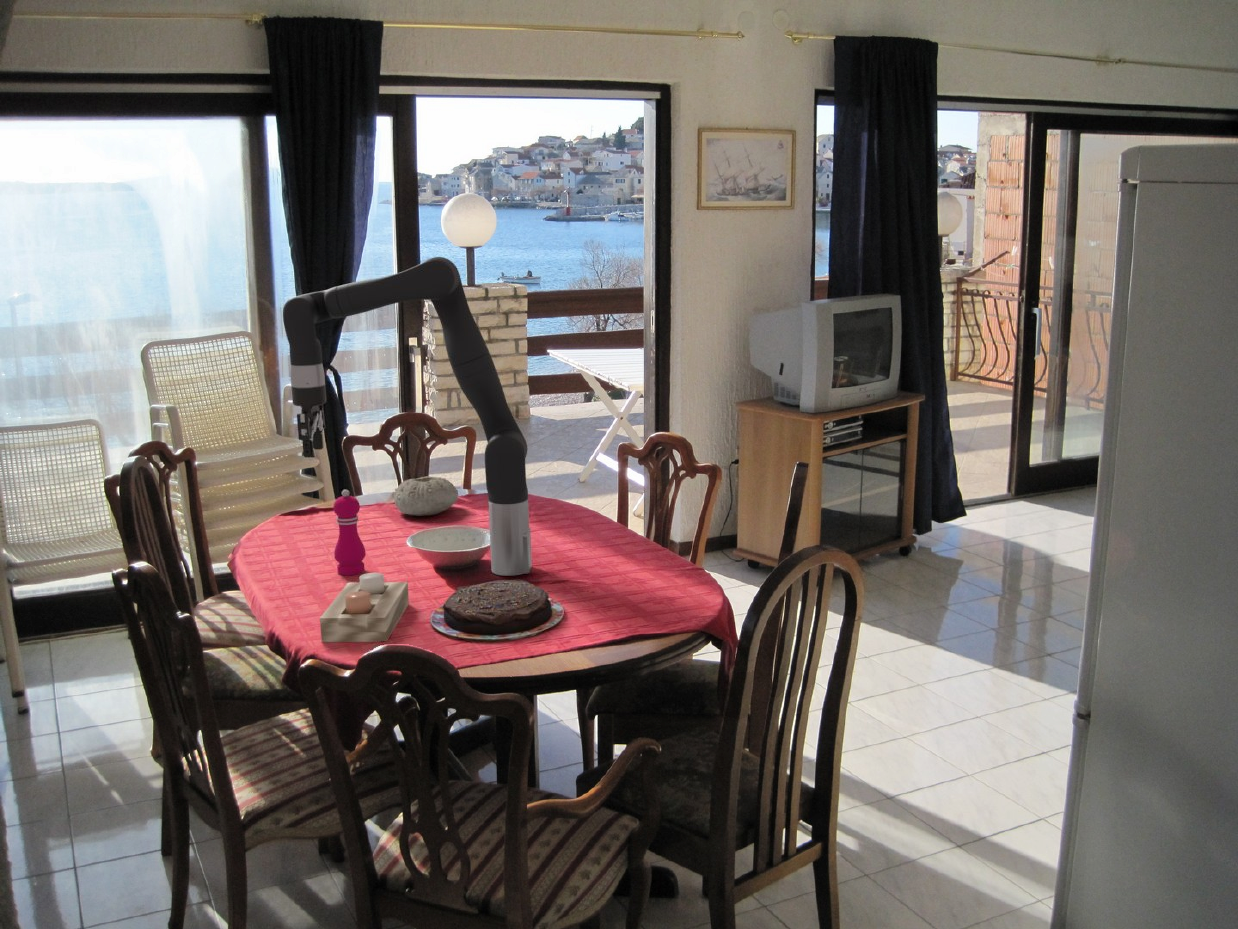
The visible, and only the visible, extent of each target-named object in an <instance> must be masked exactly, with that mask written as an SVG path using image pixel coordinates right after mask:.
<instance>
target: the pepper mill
mask: <svg viewBox="0 0 1238 929" xmlns="http://www.w3.org/2000/svg"><path fill="white" fill-rule="evenodd" d="M341 495H342V496H340V497H337V498H336V499H335V501H334V503H333V512H334V514H335V515H337V516H336V518H335V519H336V524H338V532H339V534H338V538H337V542H336V545H335V547H334V554H333V557H334V559H335V561H337V563H338V564H337V565H336V566H337V574H338V575H341V576H344V577H345V576H357V575H360V574H362V573H364V572H365V562H363V560H364V559H365V557H366V548H365V545H364V544H363V542H362V540H361V538H360V535H359V533H358V526H357V525H358V523H359V515H358V513H359V512H360V507H361V506H360V502H359V500H358V499H357V498H356V497H355V496H352V495H350V491H349V490H348V489H343V490H342V491H341Z"/></svg>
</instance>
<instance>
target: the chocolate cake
mask: <svg viewBox="0 0 1238 929" xmlns="http://www.w3.org/2000/svg"><path fill="white" fill-rule="evenodd" d="M564 614H565V610H564V608H563V606H562V604H561V603H559V601H557V600H556V599H553V598H550V597H549V592H548V591H546V590H545V589H543V588H542V587H540V586H536V585H535V584H533V583H530V582H528V581H525V579H524V580H523V579H511V580H506V579H505V580H500V579H498V580H493V581H487V582H483V583H479V584H473V585H465V586H459V587H456V589H455V590H454V592H453V593H452V594H451V595H450V596H448V598H447V599H446V600H445V601H444V603H443V604H442V605H440V606H439V607H437V608H436V609H435V610H433V611H432V613H431V614H430V616H429V620H430V625H431V627H432V628H433V629H434V630H436V631H437V632H440V633H442V634H444V635H446V636H447V637H448V638H450V639H456V640H457V639H458V640H459V639H462V640H465V641H467V642H475V643H486V644H493V643H500V642H507V641H513V640H520V639H526V638H531V637H534V636H537V635H539V634H540V633H542V632H543V631H545V630H547V629H551V628H555V627H557V626H558V625H559V623H560V622H561V621H562V620H563V617H564Z"/></svg>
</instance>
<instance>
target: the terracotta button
mask: <svg viewBox="0 0 1238 929" xmlns="http://www.w3.org/2000/svg"><path fill="white" fill-rule="evenodd" d="M345 605H346V613H347V614H367V613H369V612H371V599H370V593H369V592H365V591H356V592H351V593H348V594H346V595H345Z"/></svg>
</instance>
